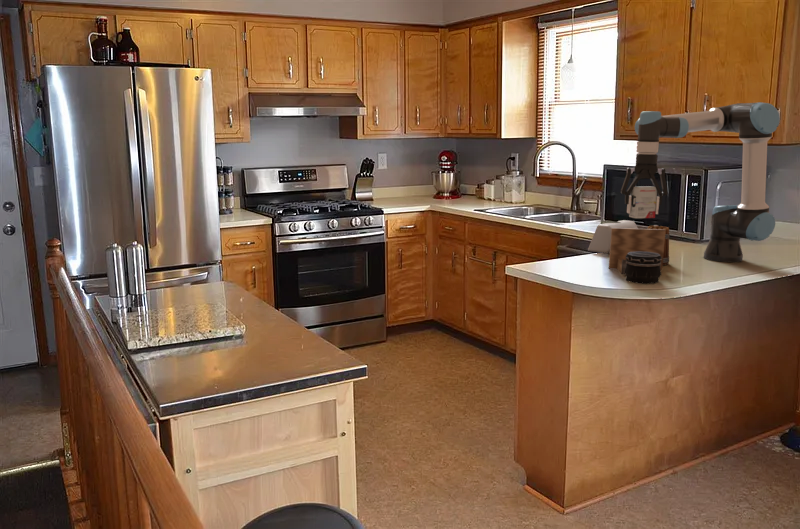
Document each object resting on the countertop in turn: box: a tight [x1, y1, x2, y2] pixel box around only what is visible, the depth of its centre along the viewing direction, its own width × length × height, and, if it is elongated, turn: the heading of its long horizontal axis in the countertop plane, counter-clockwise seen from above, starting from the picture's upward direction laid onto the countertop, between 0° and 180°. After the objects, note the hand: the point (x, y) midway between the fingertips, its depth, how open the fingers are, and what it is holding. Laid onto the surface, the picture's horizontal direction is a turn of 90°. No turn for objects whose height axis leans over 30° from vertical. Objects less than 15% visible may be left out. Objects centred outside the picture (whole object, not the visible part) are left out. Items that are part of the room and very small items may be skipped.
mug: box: [646, 224, 671, 267], centre depth 294 cm, size 16×11×15 cm
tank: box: [587, 219, 639, 254], centre depth 321 cm, size 25×16×12 cm, turn 135°
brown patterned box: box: [608, 228, 666, 275], centre depth 274 cm, size 20×11×16 cm, turn 83°
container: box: [624, 251, 662, 285], centre depth 259 cm, size 13×13×10 cm
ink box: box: [628, 185, 658, 219], centre depth 270 cm, size 9×5×12 cm, turn 106°
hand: (642, 213), depth 270 cm, fingers closed on ink box, 9 cm apart
